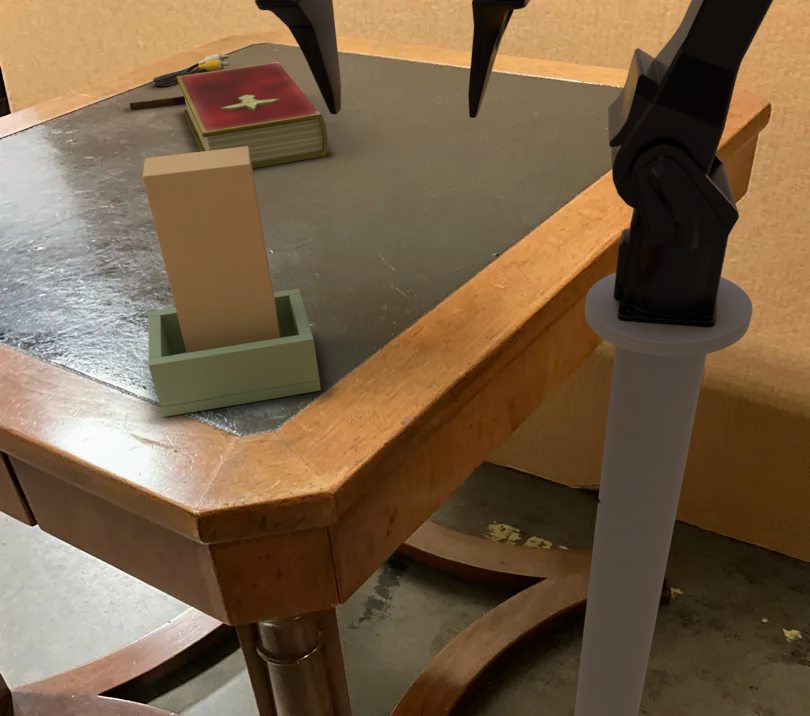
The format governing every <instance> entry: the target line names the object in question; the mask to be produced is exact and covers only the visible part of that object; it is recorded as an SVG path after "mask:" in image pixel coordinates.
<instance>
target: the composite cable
mask: <svg viewBox="0 0 810 716" xmlns="http://www.w3.org/2000/svg"><path fill="white" fill-rule="evenodd" d="M229 58H230V55H229V54H225V53H223V54H221V53H214V54H211V55H207V56H205V57H204V58H203V59H202V60H199V61H197V62H196V63H195V64H193V65H191V66H189V67H187V68H185V69H182V70H178V71H174V72H170V73H166V74H162V75H159V76H156V77H154V78H152V81H153V84H154V86H155V87H161V86H166V85H170V84H173V83H178V81H177V77H176V76H183V75H190V74H197V73H204V72H210V71H217V70H224V69H225V67H229V66H230V62H229V61H225V62H224V60H227V59H229Z"/></svg>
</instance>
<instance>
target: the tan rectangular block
mask: <svg viewBox="0 0 810 716" xmlns="http://www.w3.org/2000/svg"><path fill="white" fill-rule="evenodd" d="M253 170H254V169H253V168H252V164H251V158H250V153H249V147H248V146H245V147H237V148H228V149H219V150H211V151H202V152H201V151H195V152H185V153H178V154H169V155H161V156H153V157H152V156H151V157H145V158H144V164H143V170H142V182H143V185H144V189H145V194H146V196H147V201H148V204H149V209H150V213H151V216H152V220H153V224H154V228H155V229H154V230H155V232H156V236H157V240H158V244H159V248H160V253H161V256H162V260H163V263H164V268H165V272H166V276H167V279H168V284H169V287H170V292H171V295H172V299H173V303H174V307H175V308H176V312H177V315H178V319H179V323H180V327H181V331H182V335H183V339H184V343H185V347H186V351H187V353H190V352H196V351H202V350H209V349H215V348H221V347H227V346H234V345H240V344H246V343H252V342H258V341H265V340H271V339H277V338H281V334H280V328H279V322H278V316H277V310H276V305H275V299H274V293H273V292H274V287H273V283H272V282H273V281H272V276H271V271H270V264H269V259H268V253H267V246H266V242H265V234H264V230H263V223H262V217H261V211H260V206H259V201H258V194H257V189H256V183H255V176H254V171H253Z"/></svg>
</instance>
